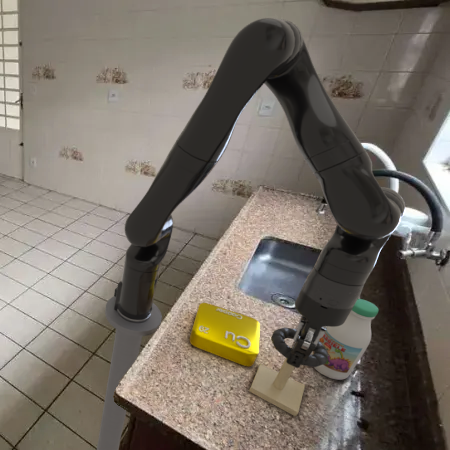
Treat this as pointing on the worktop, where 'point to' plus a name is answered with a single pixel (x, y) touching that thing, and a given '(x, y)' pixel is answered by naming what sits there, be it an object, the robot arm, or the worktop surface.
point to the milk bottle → (347, 341)
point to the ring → (280, 345)
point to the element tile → (226, 334)
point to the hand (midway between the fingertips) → (293, 359)
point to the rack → (278, 387)
